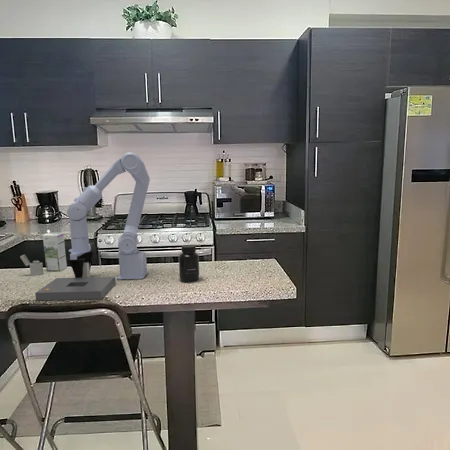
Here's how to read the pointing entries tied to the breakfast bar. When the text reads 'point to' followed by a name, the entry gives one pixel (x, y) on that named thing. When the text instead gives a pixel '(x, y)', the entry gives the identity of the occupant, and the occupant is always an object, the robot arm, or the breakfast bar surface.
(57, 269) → the syrup box
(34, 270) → the lighter
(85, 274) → the plug
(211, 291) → the breakfast bar surface
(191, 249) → the supplement bottle
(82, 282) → the socket block
